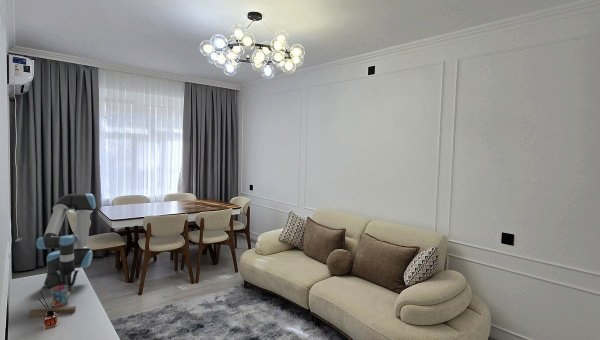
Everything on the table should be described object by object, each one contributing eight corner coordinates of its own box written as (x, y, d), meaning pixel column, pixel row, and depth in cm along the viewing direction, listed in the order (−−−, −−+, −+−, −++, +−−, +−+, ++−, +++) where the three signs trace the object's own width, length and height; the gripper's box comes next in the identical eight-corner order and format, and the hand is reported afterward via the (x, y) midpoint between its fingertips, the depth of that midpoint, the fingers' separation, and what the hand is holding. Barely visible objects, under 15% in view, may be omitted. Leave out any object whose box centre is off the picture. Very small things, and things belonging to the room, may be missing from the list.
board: (31, 314, 189) (31, 309, 189) (75, 310, 195) (75, 305, 195) (29, 317, 187) (29, 312, 186) (73, 313, 192) (73, 308, 192)
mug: (50, 309, 196) (50, 292, 196) (50, 303, 203) (49, 287, 203) (74, 304, 204) (74, 287, 203) (73, 298, 211) (73, 282, 210)
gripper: (52, 262, 204) (52, 299, 205) (76, 261, 207) (76, 297, 209) (57, 259, 211) (58, 294, 212) (80, 257, 215) (81, 293, 216)
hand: (67, 296), depth 210 cm, fingers closed
